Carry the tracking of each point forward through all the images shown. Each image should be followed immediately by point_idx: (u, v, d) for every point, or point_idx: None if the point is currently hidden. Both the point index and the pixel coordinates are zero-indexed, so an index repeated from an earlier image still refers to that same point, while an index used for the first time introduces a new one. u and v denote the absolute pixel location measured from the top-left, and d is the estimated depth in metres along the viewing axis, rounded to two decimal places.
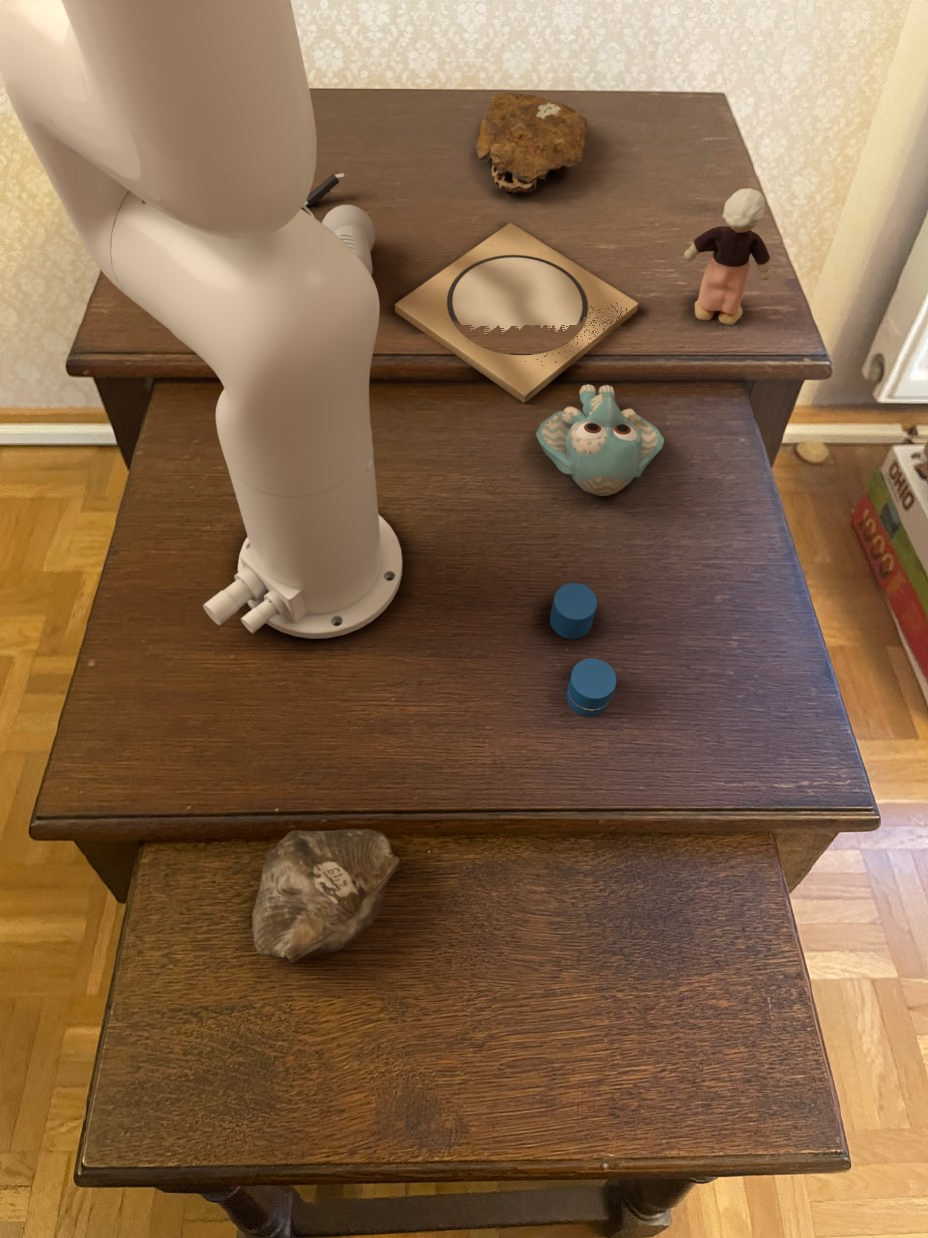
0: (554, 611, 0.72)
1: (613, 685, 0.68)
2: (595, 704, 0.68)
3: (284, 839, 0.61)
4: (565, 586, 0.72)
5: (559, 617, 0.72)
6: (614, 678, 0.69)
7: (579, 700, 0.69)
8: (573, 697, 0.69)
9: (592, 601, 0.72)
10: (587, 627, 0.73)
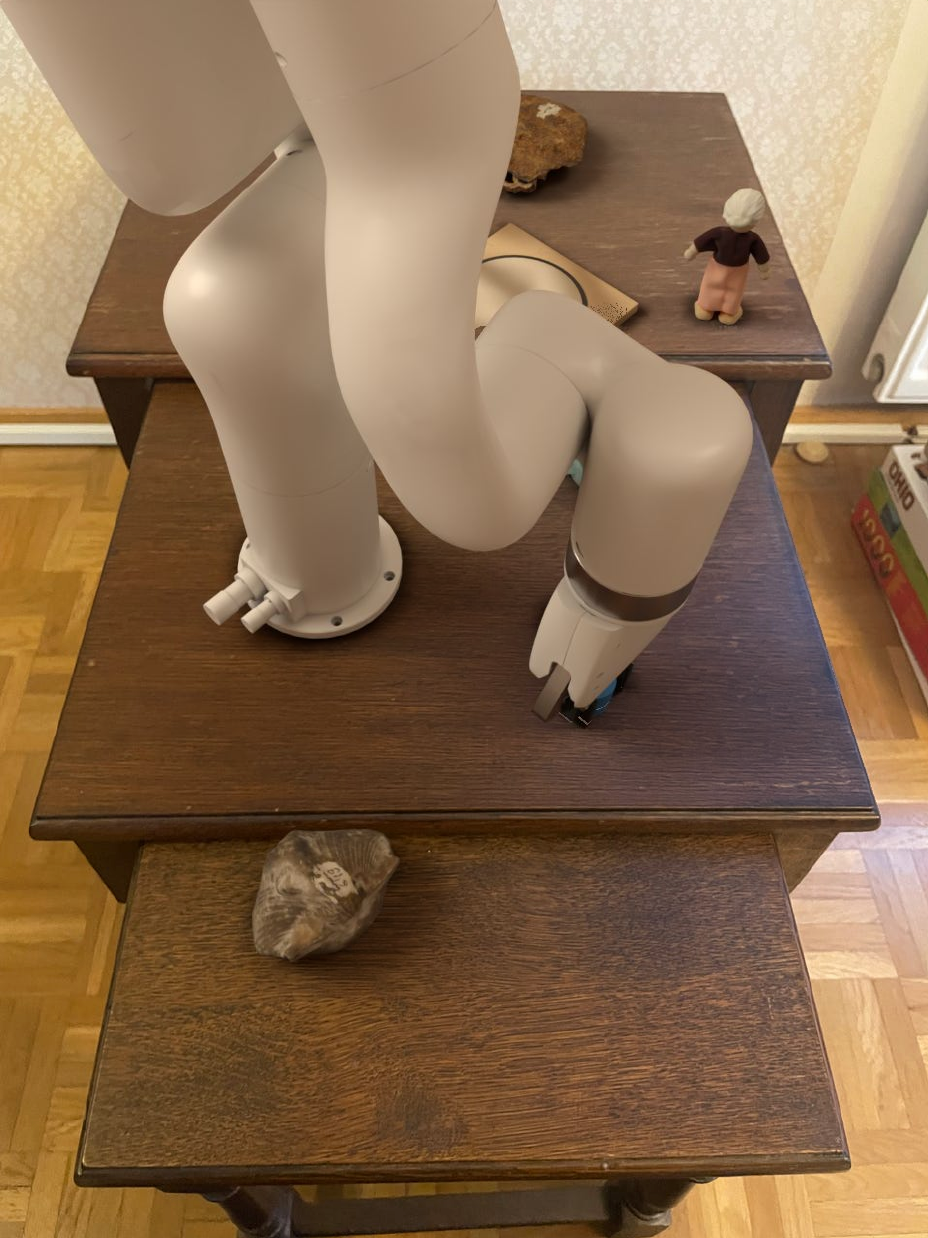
0: None
1: (613, 685, 0.68)
2: None
3: (284, 839, 0.61)
4: None
5: None
6: None
7: None
8: None
9: None
10: None
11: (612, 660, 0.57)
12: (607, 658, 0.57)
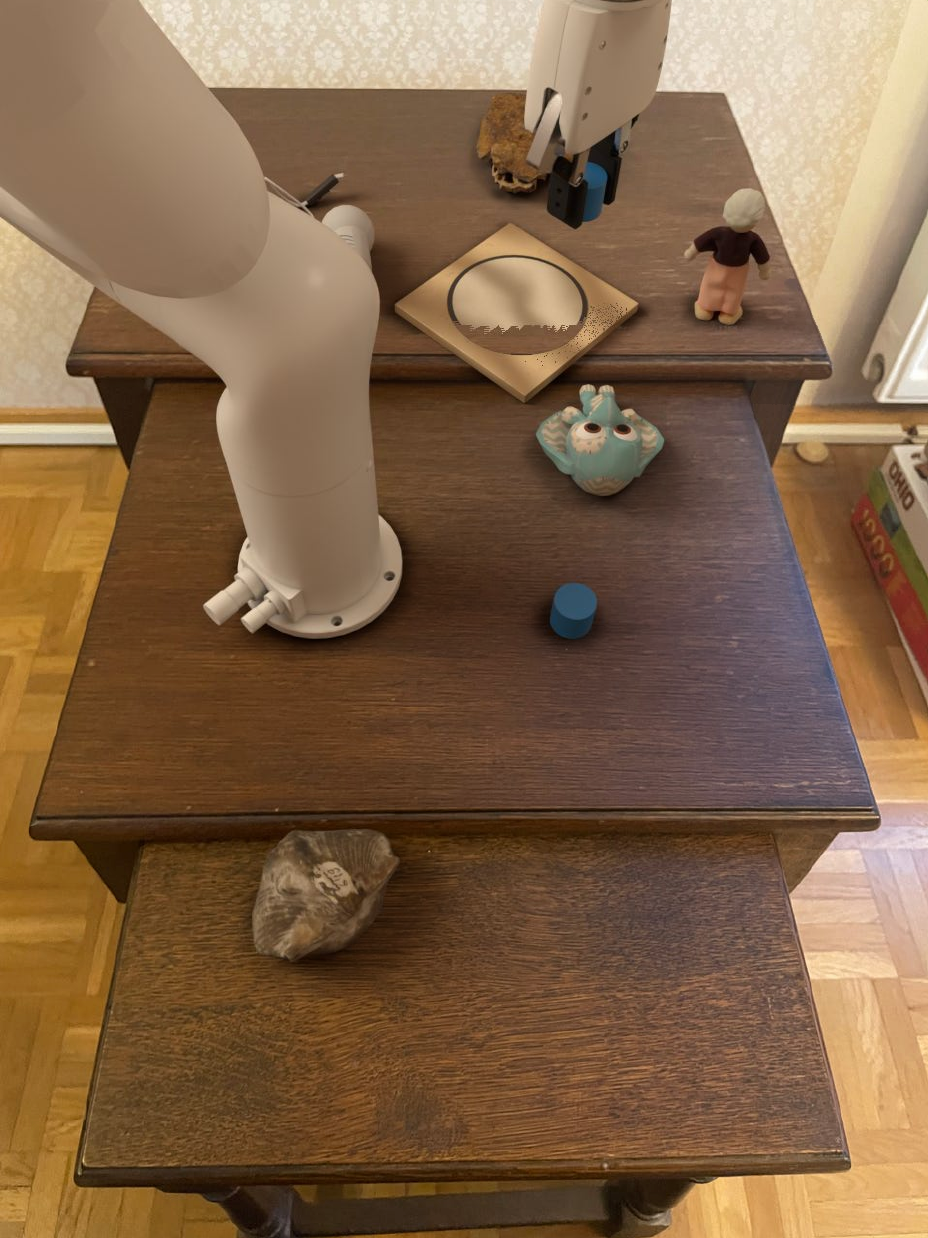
0: (554, 611, 0.72)
1: (604, 179, 0.74)
2: (587, 198, 0.74)
3: (284, 839, 0.61)
4: (565, 586, 0.72)
5: (559, 617, 0.72)
6: (605, 175, 0.74)
7: None
8: None
9: (592, 601, 0.72)
10: (587, 627, 0.73)
11: (599, 70, 0.63)
12: (594, 61, 0.62)
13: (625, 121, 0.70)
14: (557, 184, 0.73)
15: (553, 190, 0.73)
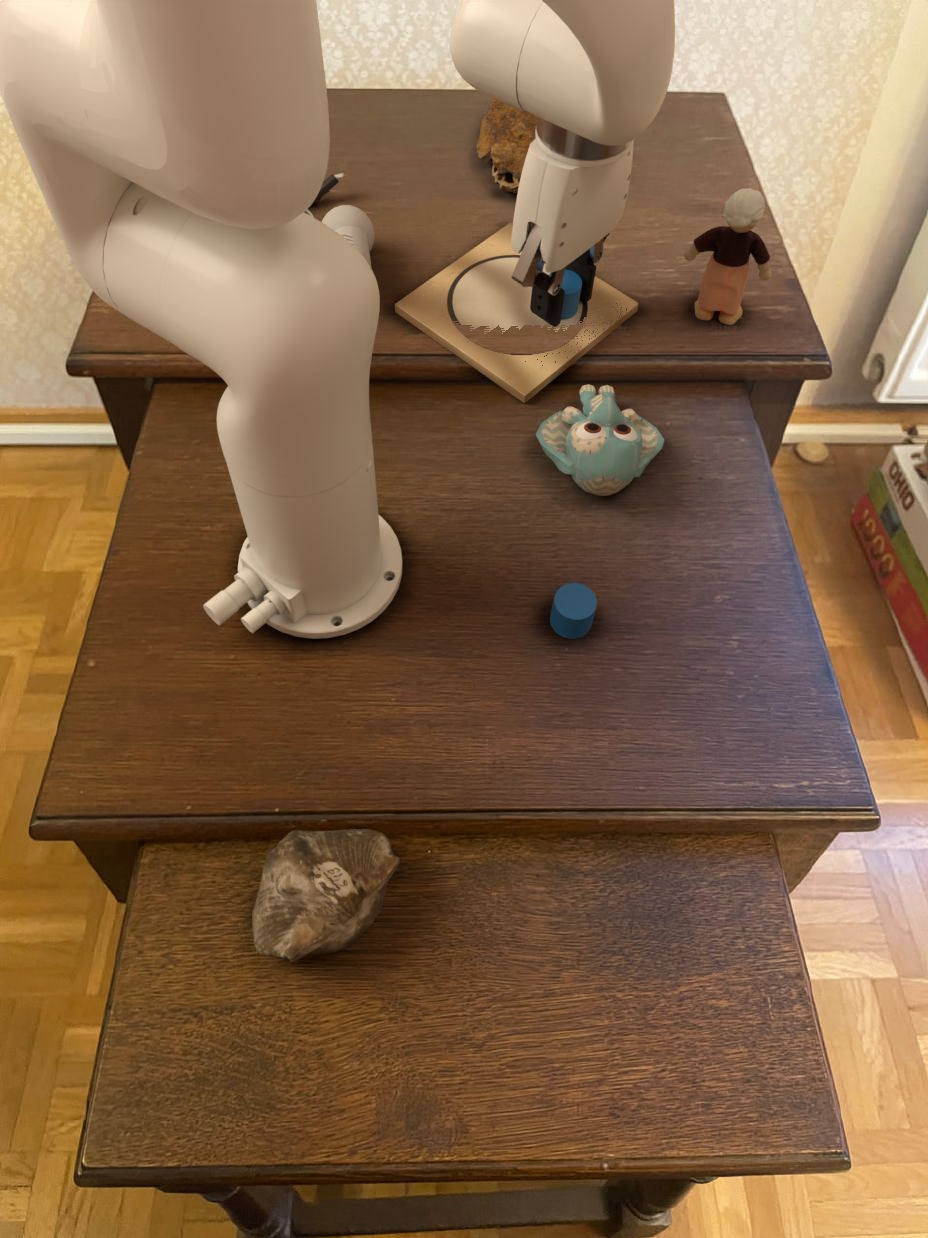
0: (554, 611, 0.72)
1: (579, 285, 0.87)
2: (565, 301, 0.87)
3: (284, 839, 0.61)
4: (565, 586, 0.72)
5: (559, 617, 0.72)
6: (580, 281, 0.87)
7: None
8: None
9: (592, 601, 0.72)
10: (587, 627, 0.73)
11: (572, 210, 0.76)
12: (568, 204, 0.75)
13: (596, 241, 0.83)
14: (538, 292, 0.85)
15: (535, 296, 0.86)
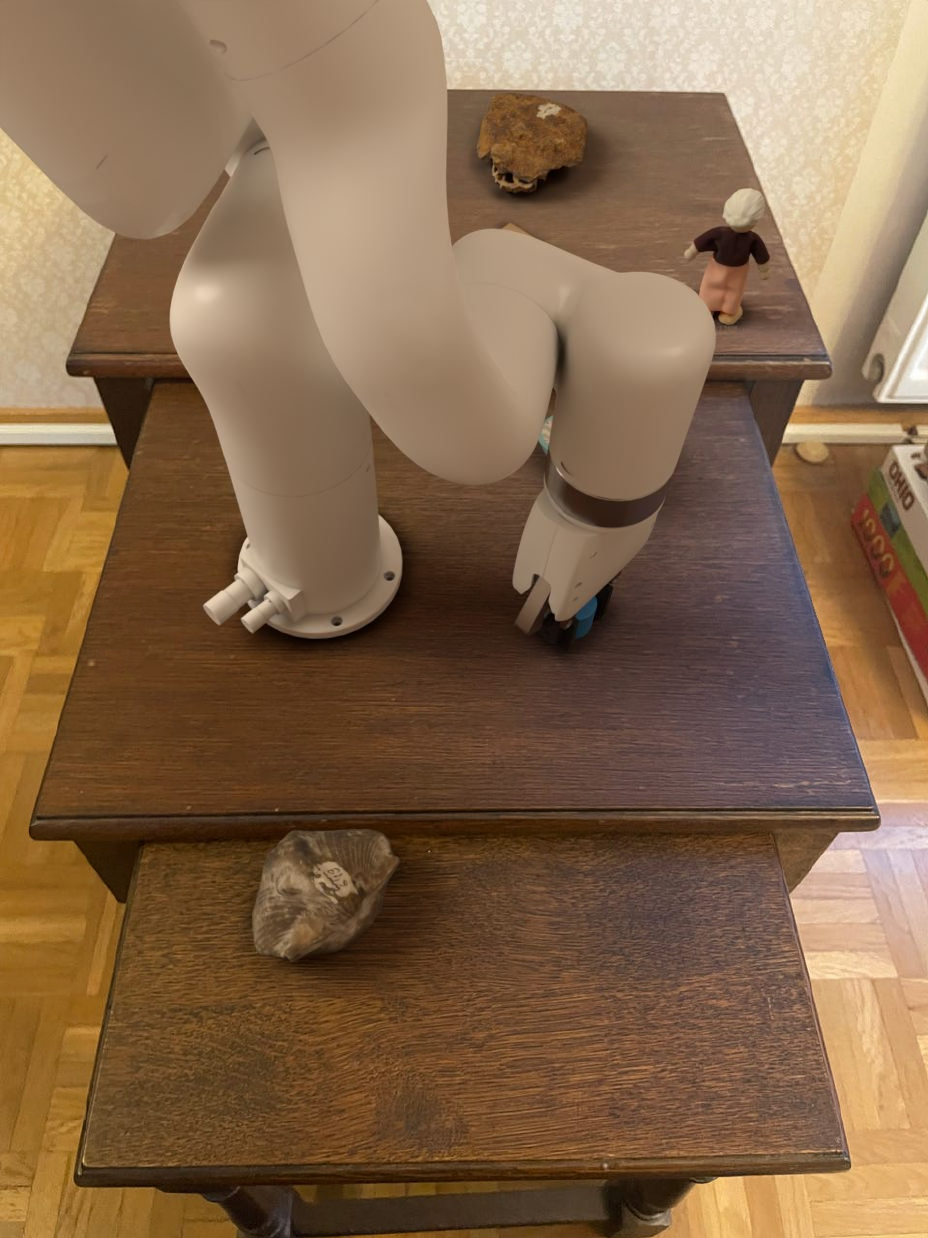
0: None
1: None
2: None
3: (284, 839, 0.61)
4: None
5: None
6: None
7: None
8: None
9: (592, 601, 0.72)
10: (587, 627, 0.73)
11: (590, 570, 0.61)
12: (585, 567, 0.60)
13: (617, 573, 0.67)
14: None
15: None
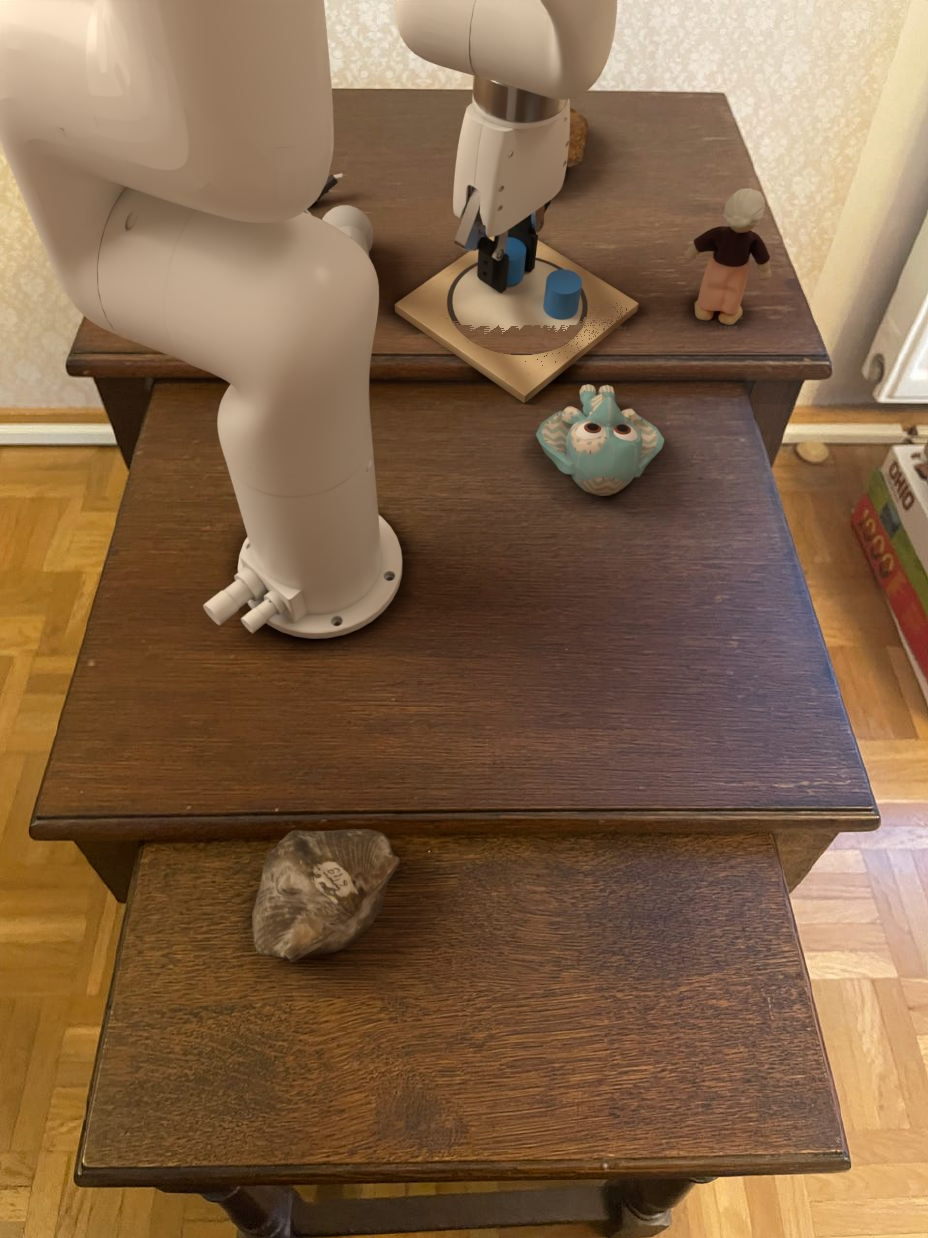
0: None
1: (579, 285, 0.87)
2: (565, 301, 0.87)
3: (284, 839, 0.61)
4: None
5: None
6: (580, 281, 0.87)
7: (553, 300, 0.87)
8: (548, 299, 0.87)
9: (522, 248, 0.89)
10: (519, 274, 0.90)
11: (509, 173, 0.78)
12: (505, 167, 0.77)
13: (537, 208, 0.84)
14: (483, 257, 0.87)
15: (481, 262, 0.88)
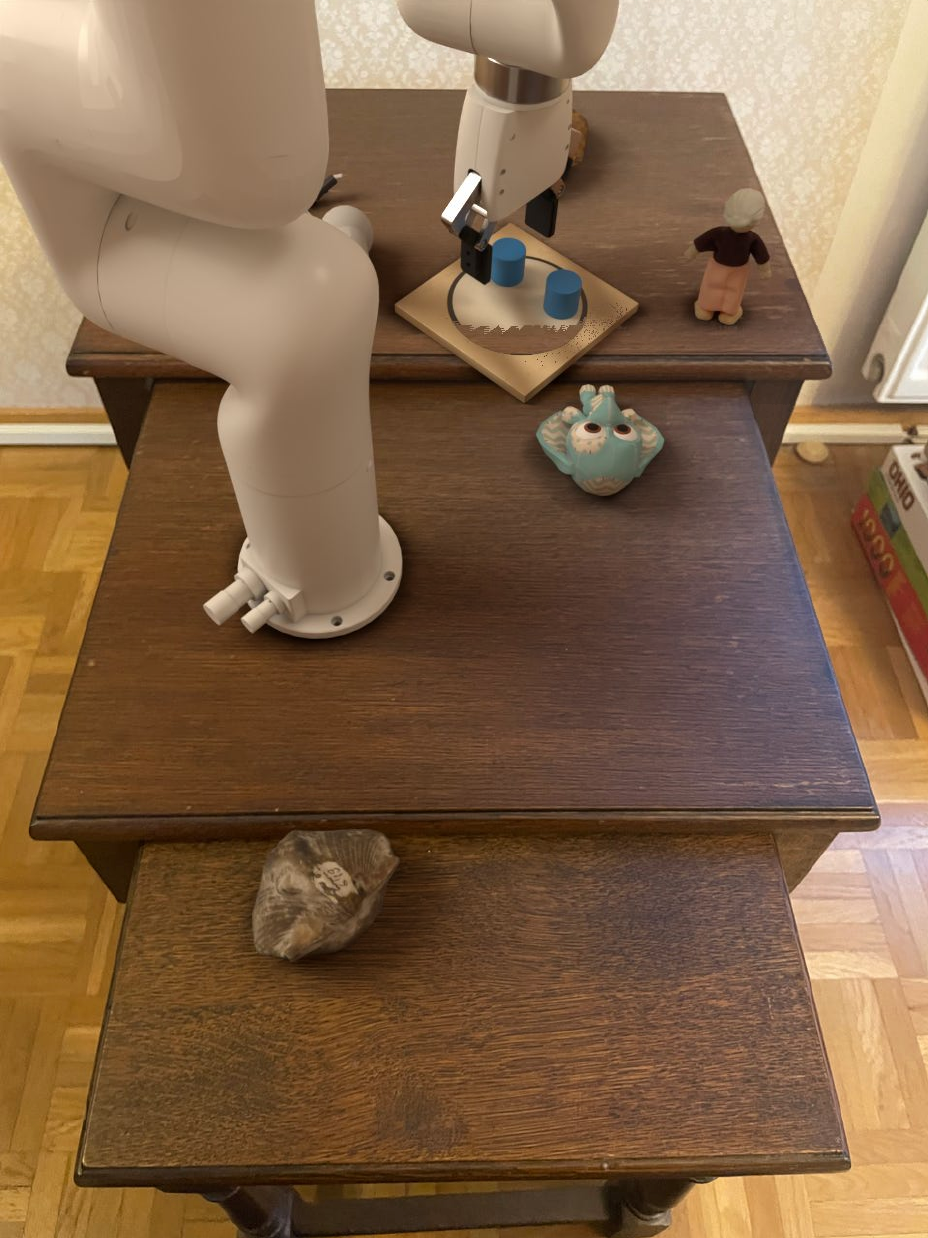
0: (492, 258, 0.89)
1: (579, 285, 0.87)
2: (565, 301, 0.87)
3: (284, 839, 0.61)
4: (501, 239, 0.89)
5: (495, 262, 0.89)
6: (580, 281, 0.87)
7: (553, 300, 0.87)
8: (548, 299, 0.87)
9: (522, 249, 0.89)
10: (519, 274, 0.90)
11: (511, 156, 0.77)
12: (506, 149, 0.76)
13: (539, 192, 0.83)
14: (466, 248, 0.84)
15: (463, 252, 0.85)
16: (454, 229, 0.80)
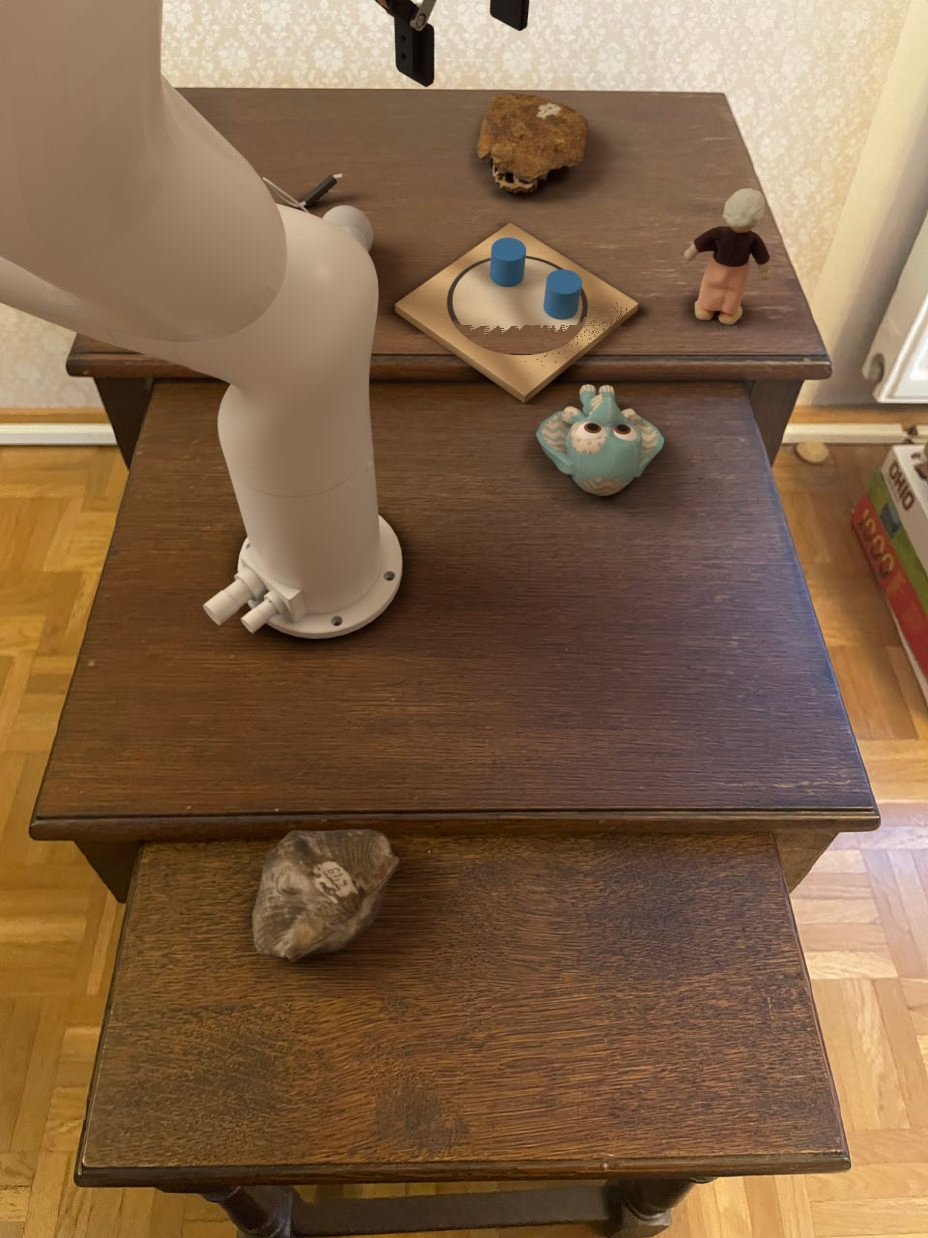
0: (492, 258, 0.89)
1: (579, 285, 0.87)
2: (565, 301, 0.87)
3: (284, 839, 0.61)
4: (501, 239, 0.89)
5: (495, 262, 0.89)
6: (580, 281, 0.87)
7: (553, 300, 0.87)
8: (548, 299, 0.87)
9: (522, 249, 0.89)
10: (519, 274, 0.90)
11: None
12: None
13: None
14: (400, 30, 0.64)
15: (397, 38, 0.65)
16: None
